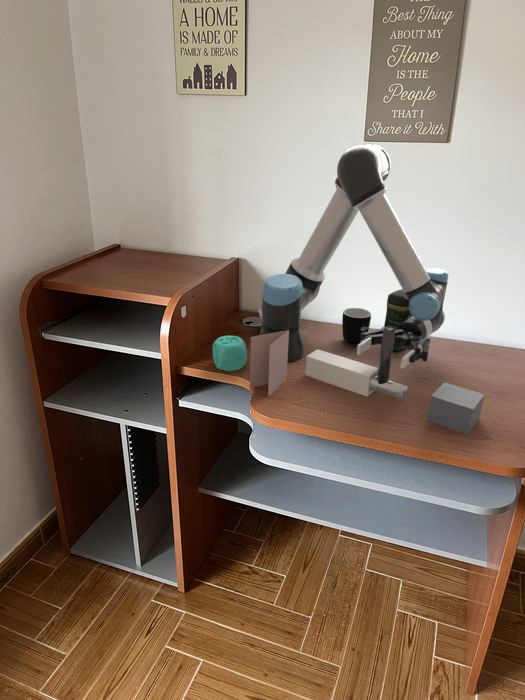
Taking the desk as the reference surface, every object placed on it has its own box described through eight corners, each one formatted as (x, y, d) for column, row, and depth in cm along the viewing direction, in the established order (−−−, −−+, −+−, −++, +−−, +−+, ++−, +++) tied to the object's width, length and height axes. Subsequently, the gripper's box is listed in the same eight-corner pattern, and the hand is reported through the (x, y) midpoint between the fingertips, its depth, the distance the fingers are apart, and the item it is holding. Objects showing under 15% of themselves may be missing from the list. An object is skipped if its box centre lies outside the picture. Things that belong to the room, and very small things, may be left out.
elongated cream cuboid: (305, 375, 153) (306, 356, 151) (316, 367, 158) (317, 349, 155) (367, 396, 143) (369, 376, 140) (377, 388, 147) (379, 368, 145)
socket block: (426, 420, 133) (431, 395, 130) (439, 406, 139) (444, 382, 136) (467, 434, 127) (473, 409, 124) (479, 419, 134) (484, 394, 131)
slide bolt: (315, 372, 152) (319, 313, 145) (321, 368, 155) (326, 309, 148) (401, 401, 138) (411, 338, 131) (407, 396, 141) (416, 333, 134)
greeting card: (284, 378, 151) (287, 328, 145) (298, 389, 145) (301, 339, 139) (248, 386, 146) (249, 335, 140) (261, 398, 140) (262, 346, 134)
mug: (359, 349, 170) (362, 319, 166) (335, 342, 175) (337, 312, 171) (377, 338, 179) (380, 309, 175) (353, 331, 184) (356, 303, 180)
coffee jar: (399, 354, 168) (408, 297, 160) (377, 347, 172) (384, 291, 165) (413, 344, 175) (421, 290, 167) (391, 338, 179) (398, 284, 172)
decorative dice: (246, 369, 156) (247, 344, 152) (220, 373, 153) (220, 348, 150) (238, 358, 162) (238, 333, 159) (212, 361, 160) (212, 337, 156)
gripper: (453, 354, 147) (422, 384, 131) (373, 332, 159) (337, 356, 143) (458, 329, 144) (427, 356, 128) (376, 308, 156) (339, 330, 140)
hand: (379, 356), depth 136 cm, fingers open, 11 cm apart
